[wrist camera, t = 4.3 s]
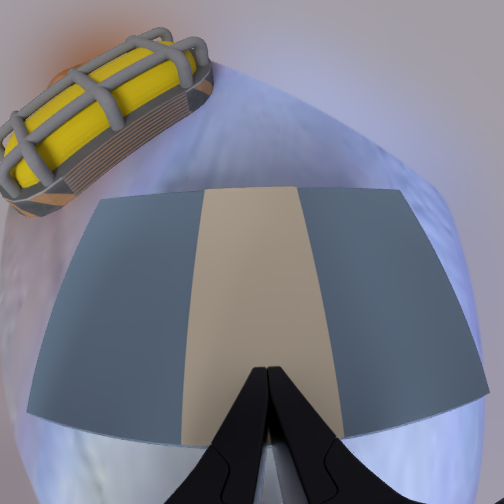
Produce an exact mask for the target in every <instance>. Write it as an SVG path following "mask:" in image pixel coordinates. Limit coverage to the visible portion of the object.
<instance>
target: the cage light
mask: <svg viewBox="0 0 504 504" xmlns="http://www.w3.org/2000/svg"><path fill="white" fill-rule="evenodd" d="M158 37H161V39H162V41H156V42H155V41H152V40H153V39H155V38H158ZM191 48H194V49H191ZM126 52H127V53H126ZM124 53H126V54H124ZM122 54H124V55H123V56H121V55H122ZM119 56H121V57H119ZM117 57H119V58H117ZM115 58H117V59H115ZM113 59H115V60H113ZM111 60H113V61H111ZM110 61H111V62H110ZM108 62H110V63H108ZM106 63H108V64H106ZM104 64H106V65H104ZM103 65H104V66H103ZM101 66H103V67H101ZM99 67H101V68H99ZM98 68H99V69H98ZM96 69H98V70H96ZM94 70H96V71H94ZM93 71H94V72H93ZM91 72H93V73H91ZM89 73H91V74H89ZM88 74H89V75H88ZM87 75H88V76H87ZM69 86H71V87H69ZM68 87H69V88H68ZM66 88H68V89H67V90H65V89H66ZM212 89H213V76H212V66H211V61H210V59H209V58H208V50H207V45H206V43H205V42H204V40H203V39H201V38H199V37H189V38H186V39H184V40H181V41H179V42H176V43H173V38H172V34H171V32H170V31H169V30H168V29H165V28H161V27H158V28H154V29H152V30H150V31H147V32H145V33H143V34H141V35H139V36H135V35H133V36H130V37H128V38H127V39H126V42H124V43H122V44H120V45H118V46H116V47H114V48H112V49H110V50H109V51H107V52H105V53H103V54H101V55H99V56H98V57H96V58H94V59H92V60H91V61H89V62H87V63H86V64H84V65H82V66H81V67H79V68H78V69H77V68H72V69H70V70H69V71H68V74H67V76H65V77H64V78H62V79H61V80H59V81H58V82H56V83H55V84H54V85H52V86H51V87H49V88H48V89H47V90H45V91H44V92H43V93H41V94H40V95H39V96H37V97H36V98H35V99H33V100H32V101H31V102H30V103H28V104H27V105H26V106H25V107H23V108H22V109H21V110H20V111H14V112H12V113H11V116H10V119H9V120H8V121H7V122H6V123H5V124H4V125H3V126H2V127H1V128H0V161H1V162H0V192H1V194H2V196H3V197H4V199H5V200H6V201H8V202H9V204H10V205H11V206H12V207H14V208H15V209H16V210H17V211H18V212H19V213H20V214H22V215H25V216H27V217H29V218H31V217H41V216H45V215H47V214H50V213H52V212H54V211H57V210H59V209H61V208H62V207H63V206H65V205H66V204H67V203H69V202H70V201H72V200H73V199H74V198H76V197H77V196H78V195H79V194H81V193H82V192H83V191H84V190H85V189H86V188H88V187H89V186H90V185H91V184H92V183H94V182H95V181H96V180H97V179H99V178H100V177H101V176H102V175H104V174H105V173H106V172H107V171H109V170H110V169H111V168H112V167H114V166H115V165H116V164H118V163H119V162H120V161H122V160H123V159H124V158H126V157H127V156H128V155H130V154H131V153H133V152H134V151H135V150H137V149H138V148H140V147H141V146H142V145H144V144H145V143H147V142H148V141H150V140H151V139H152V138H154V137H155V136H157V135H158V134H160V133H161V132H163V131H164V130H166V129H168V128H169V127H171V126H172V125H174V124H175V123H177V122H178V121H180V120H182V119H183V118H185V117H187V116H188V115H190V114H191V113H193V112H194V111H195V110H197V109H198V108H199V107H200V106H202V105H203V104H204V103H205V102H206V100H207V99H208V98H209V96H210V95H211V94H212ZM63 90H65V91H64V92H62V91H63ZM61 92H62V93H61ZM59 93H61V94H59ZM58 94H59V95H58ZM56 95H58V96H57V97H55V96H56ZM54 97H55V98H54ZM52 98H54V99H53V100H51V99H52ZM50 100H51V101H50ZM48 101H50V102H48ZM47 102H48V103H47ZM46 103H47V104H46ZM44 104H46V105H45V106H43V105H44ZM42 106H43V107H42ZM40 107H42V108H41V109H39V108H40ZM38 109H39V110H38ZM37 110H38V111H37ZM35 111H37V112H36V113H34V112H35ZM33 113H34V114H33ZM32 114H33V115H32ZM30 115H32V116H31V117H30V118H28V117H29V116H30ZM27 118H28V119H27ZM26 119H27V120H26ZM25 120H26V121H25ZM13 130H14V133H13V134H12V135H11V137H10V139H9V141H8V143H7V146H6V149H5V148H4V146H3V145H2V141H3V139H4V138H5V137H6V136H7V135H8V134H10V133H11V132H12V131H13Z"/></svg>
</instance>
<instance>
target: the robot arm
mask: <svg viewBox="0 0 504 504" xmlns="http://www.w3.org/2000/svg"><path fill="white" fill-rule="evenodd" d="M268 426H269V434H270V440H271V445H272V450H273V455H274V460H275V465H276V470H277V474H278V479H279V484H280V489H281V494H282V499H283V503H284V504H425V503H421V502H416V501H413V500H410V499H408V498H406V497H404V496H402V495H400V494H399V493H397V492H396V491H395V490H393V489H392V488H391V487H390V486H388V485H387V484H386V483H385V482H383V481H382V480H381V479H380V478H379V477H377V476H376V475H375V474H374V473H373V472H371V471H370V470H369V469H368V468H367V467H366V466H365V465H364V464H362V463H361V462H360V461H359V460H358V459H357V458H356V457H355V456H354V455H353V454H352V453H351V452H350V451H349V450H348V449H347V447H346V446H345V445H344V444H343V443H342V442H341V440H340V439H339V438H338V437H337V438H336V435H335V433H334V432H333V431H332V430H331V429H330V427H329V426H328V425H327V424H326V423H325V421H324V420H323V419H322V418H321V416H320V415H319V414H318V413H317V412H316V410H315V409H314V408H313V407H312V405H311V404H310V403H309V402H308V400H307V399H306V398H305V397H304V395H303V394H302V393H301V392H300V390H299V389H298V388H297V387H296V385H295V384H294V383H293V381H292V380H291V379H290V378H289V376H288V375H287V374H286V373H285V371H284V370H283V369H282V367H280V366H269V367H267V368H266V367H253V368H252V370H251V372H250V374H249V376H248V377H247V379H246V381H245V383H244V385H243V387H242V389H241V390H240V392H239V394H238V396H237V398H236V399H235V401H234V403H233V405H232V407H231V408H230V410H229V412H228V414H227V416H226V417H225V419H224V421H223V423H222V424H221V426H220V428H219V430H218V431H217V433H216V435H215V436H214V438H213V440H212V442H211V444H210V445H209V446H208V448H207V450H206V451H205V453H204V455H203V456H202V458H201V459H200V461H199V462H198V464H197V465H196V467H195V468H194V469H193V470H192V472H191V473H190V474H189V476H188V477H187V478H186V479H185V480H184V482H183V483H182V484H181V485H180V486H179V487H178V488H177V489H176V491H175V492H174V493H173V494H172V495H171V496H170V497H169V498H168V499H167V501H166V502H165V503H164V504H261V497H262V488H263V480H264V471H265V461H266V452H267V442H268ZM495 504H504V498H502V499H501V500H500V501H498V502H496V503H495Z"/></svg>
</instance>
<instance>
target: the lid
mask: <svg viewBox="0 0 504 504" xmlns="http://www.w3.org/2000/svg"><path fill="white" fill-rule="evenodd" d="M269 366H280V367H282V369H283V370H284V371H285V373H286V374H287V375H288V376H289V378H290V379H291V380H292V381H293V383H294V384H295V385H296V387H297V388H298V389H299V390H300V392H301V393H302V394H303V395H304V397H305V398H306V399H307V400H308V402H309V403H310V404H311V405H312V407H313V408H314V409H315V410H316V412H317V413H318V414H319V415H320V416H321V418H322V419H323V420H324V421H325V423H326V424H327V425H328V426H329V427H330V429H331V430H332V431H333V432H334V433H335V435H336V438H337V437H338V438H339V439H340V440H343V439H349V438H354V437H359V436H364V435H369V434H373V433H378V432H382V431H386V430H390V429H394V428H398V427H401V426H405V425H409V424H412V423H415V422H419V421H422V420H425V419H428V418H431V417H434V416H437V415H440V414H443V413H446V412H448V411H451V410H454V409H456V408H459V407H461V406H464V405H466V404H469V403H471V402H474V401H476V400H478V399H480V398H481V397H483V396H485V395H487V394H488V393H490V392H489V388H488V384H487V381H486V377H485V374H484V370H483V367H482V364H481V360H480V357H479V354H478V351H477V348H476V345H475V342H474V340H473V337H472V334H471V331H470V329H469V326H468V323H467V321H466V318H465V316H464V313H463V311H462V308H461V306H460V304H459V301H458V299H457V297H456V294H455V292H454V290H453V288H452V285H451V283H450V281H449V279H448V277H447V275H446V272H445V270H444V268H443V266H442V264H441V262H440V260H439V258H438V256H437V254H436V252H435V250H434V249H433V247H432V245H431V243H430V241H429V239H428V237H427V236H426V234H425V232H424V230H423V228H422V227H421V225H420V223H419V221H418V220H417V218H416V216H415V214H414V213H413V211H412V209H411V208H410V206H409V204H408V203H407V201H406V200H405V198H404V196H403V195H402V193H401V192H400V190H391V189H364V188H297V187H296V186H281V187H243V188H219V189H205V191H192V192H178V193H164V194H152V195H141V196H130V197H120V198H111V199H102V200H100V202H99V204H98V206H97V208H96V210H95V211H94V213H93V215H92V217H91V219H90V221H89V223H88V226H87V228H86V230H85V232H84V234H83V236H82V238H81V240H80V243H79V245H78V247H77V249H76V251H75V254H74V256H73V258H72V261H71V263H70V265H69V268H68V270H67V273H66V275H65V278H64V280H63V283H62V285H61V288H60V291H59V293H58V296H57V299H56V302H55V305H54V307H53V310H52V313H51V316H50V319H49V322H48V326H47V329H46V332H45V335H44V339H43V342H42V346H41V349H40V353H39V357H38V360H37V364H36V369H35V373H34V377H33V381H32V386H31V391H30V396H29V401H28V407H27V413H29V414H31V415H33V416H36V417H38V418H40V419H43V420H46V421H49V422H52V423H55V424H59V425H62V426H65V427H69V428H73V429H77V430H80V431H84V432H89V433H93V434H97V435H102V436H107V437H112V438H117V439H122V440H128V441H135V442H141V443H148V444H156V445H165V446H176V447H188V448H208V446H209V445H210V444H211V442H212V440H213V438H214V436H215V435H216V433H217V431H218V430H219V428H220V426H221V424H222V423H223V421H224V419H225V417H226V416H227V414H228V412H229V410H230V408H231V407H232V405H233V403H234V401H235V399H236V398H237V396H238V394H239V392H240V390H241V389H242V387H243V385H244V383H245V381H246V379H247V377H248V376H249V374H250V372H251V370H252V368H253V367H266V368H267V367H269ZM267 448H272V445H271V440H270V434H269V426H268V442H267Z"/></svg>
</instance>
